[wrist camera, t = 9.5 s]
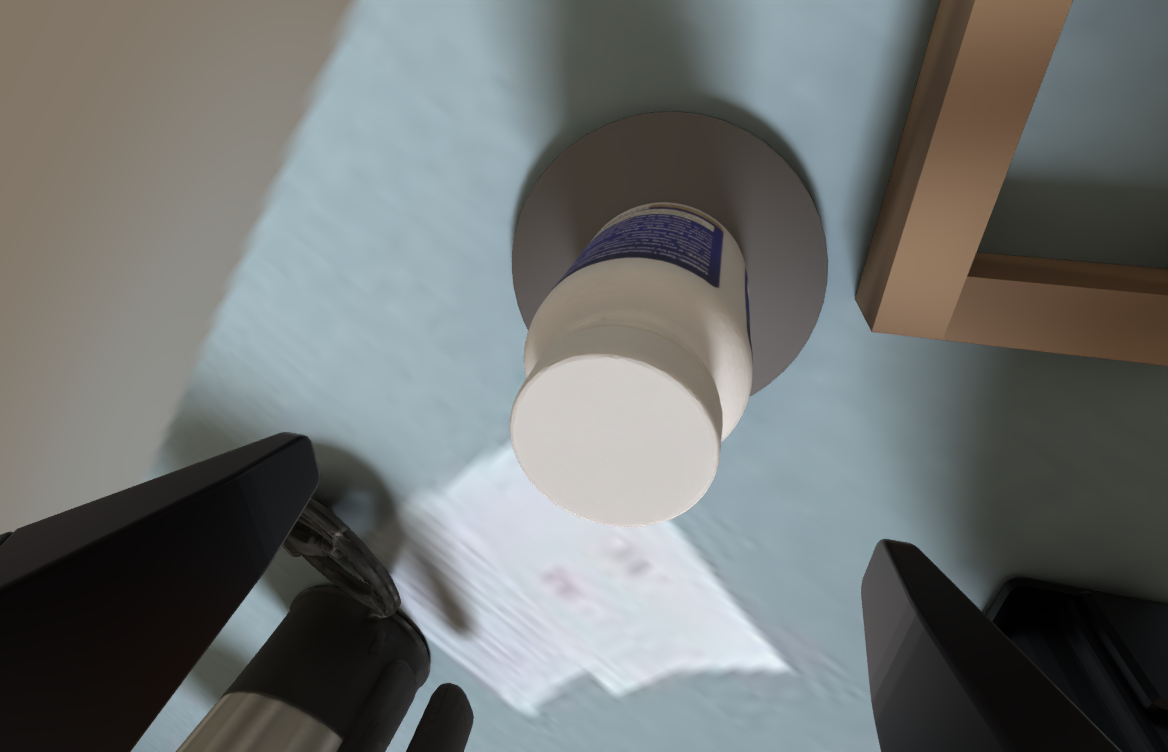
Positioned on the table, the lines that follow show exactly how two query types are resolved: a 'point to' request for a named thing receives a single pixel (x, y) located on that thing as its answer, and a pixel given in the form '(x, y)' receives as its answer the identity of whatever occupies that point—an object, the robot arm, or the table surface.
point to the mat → (697, 179)
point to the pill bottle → (637, 369)
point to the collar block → (991, 208)
